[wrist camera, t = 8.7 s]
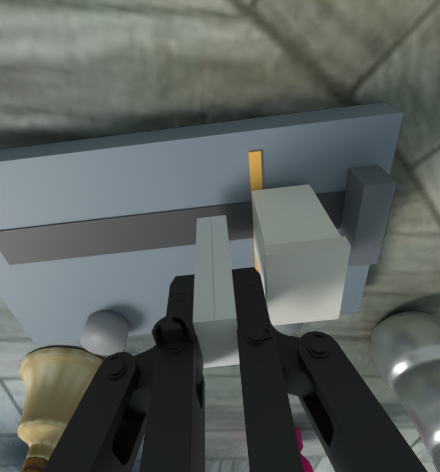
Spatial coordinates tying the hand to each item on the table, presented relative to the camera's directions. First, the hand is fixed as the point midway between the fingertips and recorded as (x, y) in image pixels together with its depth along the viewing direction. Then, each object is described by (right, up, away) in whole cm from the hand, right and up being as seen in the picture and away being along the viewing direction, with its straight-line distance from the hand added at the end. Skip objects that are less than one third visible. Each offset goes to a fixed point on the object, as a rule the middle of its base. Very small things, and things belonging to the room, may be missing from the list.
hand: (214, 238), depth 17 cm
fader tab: (+4, +1, +1) cm, 4 cm away
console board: (-2, 0, +4) cm, 5 cm away
